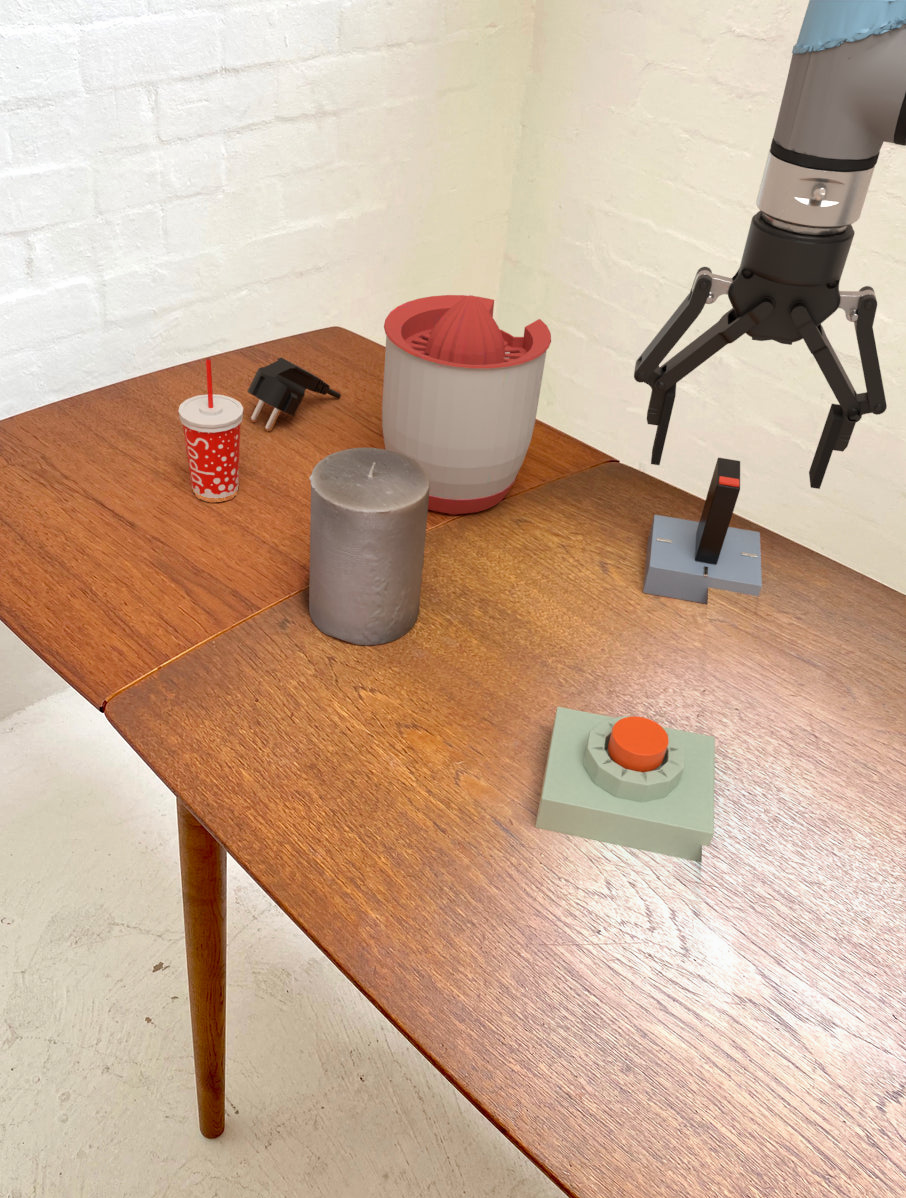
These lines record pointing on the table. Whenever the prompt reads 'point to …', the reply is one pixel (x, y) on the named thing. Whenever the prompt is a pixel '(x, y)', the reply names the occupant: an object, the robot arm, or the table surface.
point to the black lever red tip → (717, 510)
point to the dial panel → (690, 579)
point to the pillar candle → (367, 544)
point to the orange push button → (638, 744)
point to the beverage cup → (212, 441)
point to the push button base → (628, 789)
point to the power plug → (284, 389)
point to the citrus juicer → (461, 397)
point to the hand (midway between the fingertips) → (734, 469)
